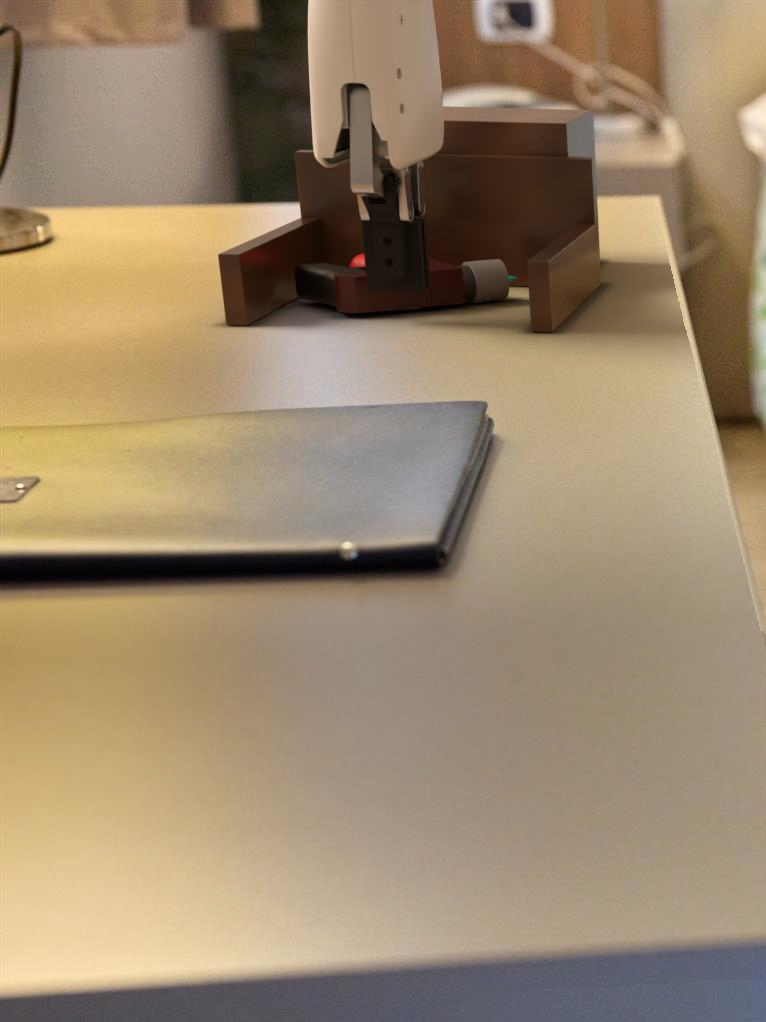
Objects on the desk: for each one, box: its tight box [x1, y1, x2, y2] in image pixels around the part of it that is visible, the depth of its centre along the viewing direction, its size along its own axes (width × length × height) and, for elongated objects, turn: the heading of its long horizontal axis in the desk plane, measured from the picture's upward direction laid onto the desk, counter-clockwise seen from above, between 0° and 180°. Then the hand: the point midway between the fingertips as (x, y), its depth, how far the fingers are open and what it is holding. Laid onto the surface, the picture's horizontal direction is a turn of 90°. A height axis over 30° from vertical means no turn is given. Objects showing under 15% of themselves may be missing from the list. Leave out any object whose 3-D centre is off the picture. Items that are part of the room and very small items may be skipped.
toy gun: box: [294, 254, 517, 314], centre depth 118 cm, size 10×12×5 cm
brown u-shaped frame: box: [217, 105, 602, 333], centre depth 120 cm, size 18×25×10 cm
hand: (399, 289), depth 112 cm, fingers closed
